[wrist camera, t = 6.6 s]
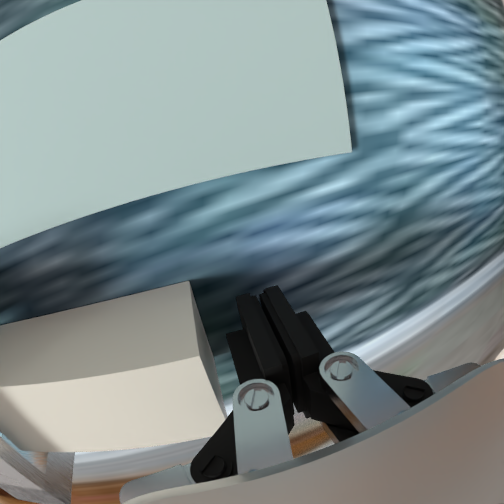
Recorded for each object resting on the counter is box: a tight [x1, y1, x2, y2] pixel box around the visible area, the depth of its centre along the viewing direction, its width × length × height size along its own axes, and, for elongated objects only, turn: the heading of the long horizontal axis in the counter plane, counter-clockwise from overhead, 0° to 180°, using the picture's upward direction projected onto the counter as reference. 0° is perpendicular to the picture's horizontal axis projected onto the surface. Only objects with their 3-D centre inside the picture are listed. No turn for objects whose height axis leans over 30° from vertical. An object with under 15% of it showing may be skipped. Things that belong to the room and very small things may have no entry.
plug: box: [0, 281, 227, 452], centre depth 10 cm, size 12×4×4 cm, turn 99°
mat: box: [0, 0, 352, 248], centre depth 8 cm, size 14×8×1 cm, turn 100°
